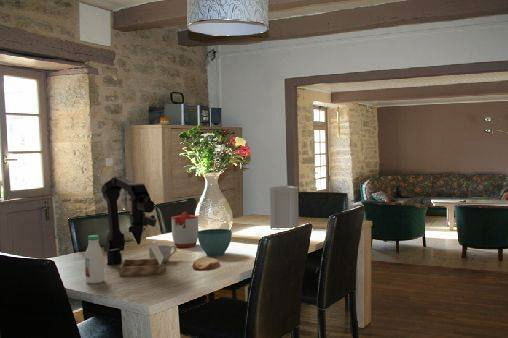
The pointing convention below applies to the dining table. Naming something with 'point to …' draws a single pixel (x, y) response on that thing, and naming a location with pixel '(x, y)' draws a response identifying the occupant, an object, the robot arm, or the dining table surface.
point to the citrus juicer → (185, 230)
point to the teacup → (163, 252)
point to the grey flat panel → (157, 252)
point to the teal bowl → (214, 241)
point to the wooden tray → (140, 267)
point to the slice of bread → (205, 264)
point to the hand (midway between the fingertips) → (139, 244)
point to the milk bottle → (94, 261)
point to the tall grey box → (284, 207)
